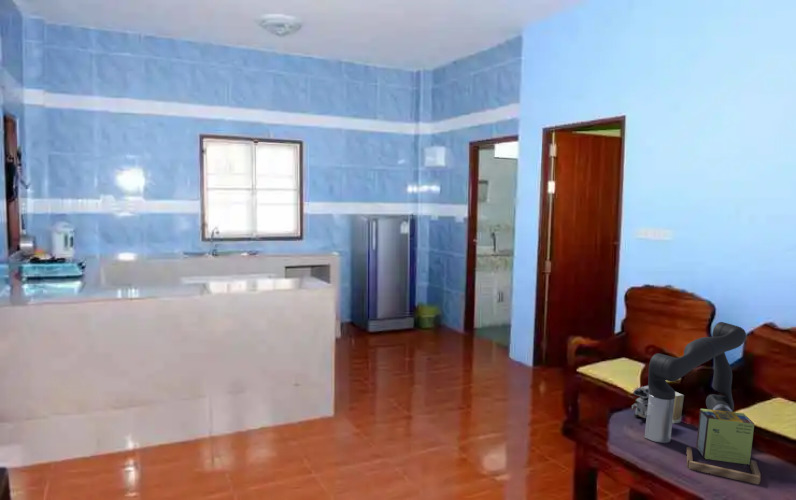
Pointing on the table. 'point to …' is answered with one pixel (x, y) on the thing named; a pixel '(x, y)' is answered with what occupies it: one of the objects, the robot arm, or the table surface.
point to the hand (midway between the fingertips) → (726, 431)
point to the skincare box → (677, 407)
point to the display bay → (725, 470)
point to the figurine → (641, 402)
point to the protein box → (725, 436)
